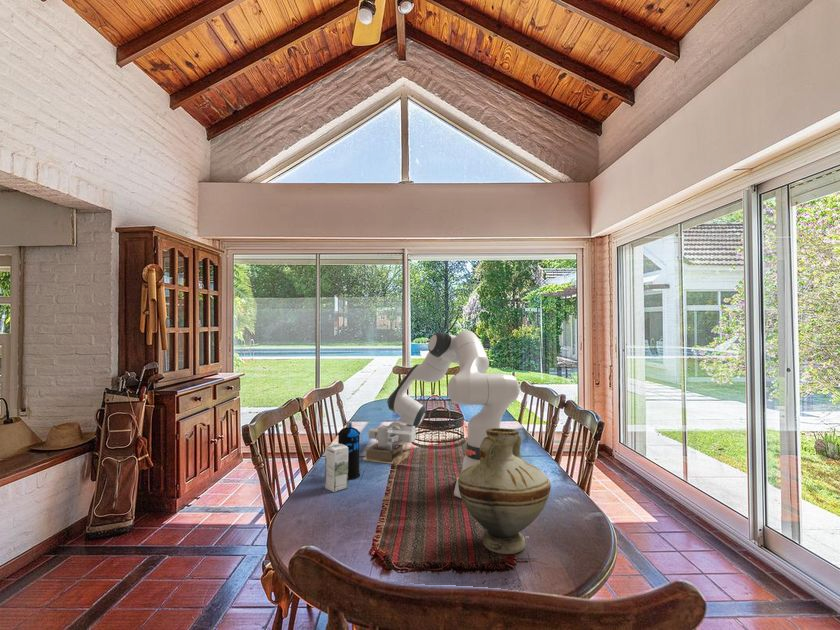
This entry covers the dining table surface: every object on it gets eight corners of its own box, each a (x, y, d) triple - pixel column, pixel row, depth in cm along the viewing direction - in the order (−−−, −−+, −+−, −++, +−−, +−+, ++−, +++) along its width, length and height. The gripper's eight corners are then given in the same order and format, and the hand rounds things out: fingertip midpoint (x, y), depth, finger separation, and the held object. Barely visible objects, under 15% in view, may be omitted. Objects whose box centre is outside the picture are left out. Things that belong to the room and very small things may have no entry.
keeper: (393, 464, 181) (393, 453, 181) (362, 460, 186) (362, 450, 186) (406, 454, 194) (406, 444, 194) (377, 450, 199) (377, 441, 199)
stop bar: (387, 457, 187) (387, 428, 187) (377, 456, 188) (378, 427, 188) (391, 454, 191) (392, 426, 191) (382, 453, 193) (382, 425, 193)
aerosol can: (332, 476, 167) (333, 421, 167) (350, 470, 173) (350, 418, 173) (346, 481, 161) (347, 425, 161) (364, 475, 168) (364, 421, 168)
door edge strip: (395, 466, 178) (395, 461, 178) (393, 466, 179) (393, 460, 179) (410, 454, 193) (410, 450, 193) (408, 454, 193) (408, 449, 193)
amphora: (538, 527, 129) (531, 420, 132) (569, 565, 105) (559, 433, 108) (456, 533, 128) (450, 424, 131) (468, 572, 105) (460, 439, 107)
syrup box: (338, 483, 159) (338, 442, 159) (348, 488, 155) (348, 446, 155) (324, 488, 155) (324, 445, 155) (334, 493, 151) (334, 449, 151)
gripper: (376, 422, 205) (361, 429, 193) (418, 426, 198) (406, 434, 185) (376, 436, 205) (361, 444, 193) (418, 440, 198) (406, 449, 185)
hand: (384, 439), depth 189 cm, fingers closed on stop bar, 4 cm apart
